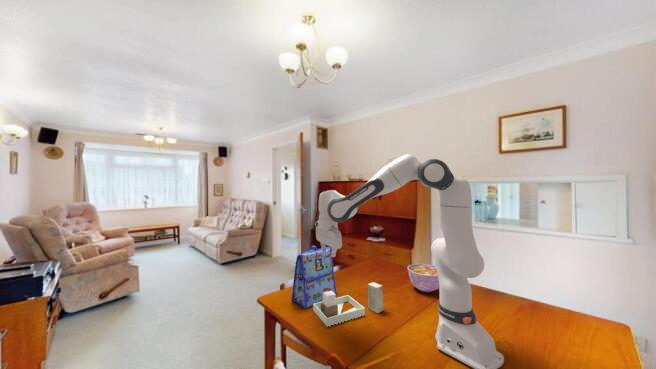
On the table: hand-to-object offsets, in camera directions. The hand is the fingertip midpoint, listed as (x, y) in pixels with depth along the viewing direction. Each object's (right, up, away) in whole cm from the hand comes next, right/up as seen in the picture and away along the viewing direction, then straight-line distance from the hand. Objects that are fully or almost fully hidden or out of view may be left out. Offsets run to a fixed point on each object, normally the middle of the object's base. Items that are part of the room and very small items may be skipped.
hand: (328, 254), depth 113 cm
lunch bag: (-8, -29, +18) cm, 35 cm away
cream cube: (0, -24, 0) cm, 24 cm away
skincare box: (+23, -29, +5) cm, 38 cm away
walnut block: (0, -29, 0) cm, 29 cm away
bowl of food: (+57, -29, +28) cm, 70 cm away
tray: (+5, -29, +2) cm, 30 cm away
